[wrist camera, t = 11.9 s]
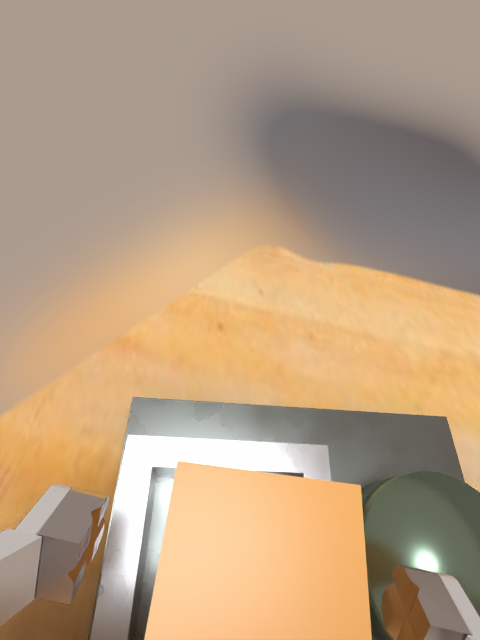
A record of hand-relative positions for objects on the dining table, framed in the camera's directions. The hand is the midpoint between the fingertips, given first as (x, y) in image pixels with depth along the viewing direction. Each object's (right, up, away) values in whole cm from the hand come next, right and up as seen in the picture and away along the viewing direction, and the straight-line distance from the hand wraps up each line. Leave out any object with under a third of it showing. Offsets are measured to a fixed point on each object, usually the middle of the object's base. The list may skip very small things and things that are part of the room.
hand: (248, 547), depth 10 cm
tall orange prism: (-1, -4, +6) cm, 7 cm away
